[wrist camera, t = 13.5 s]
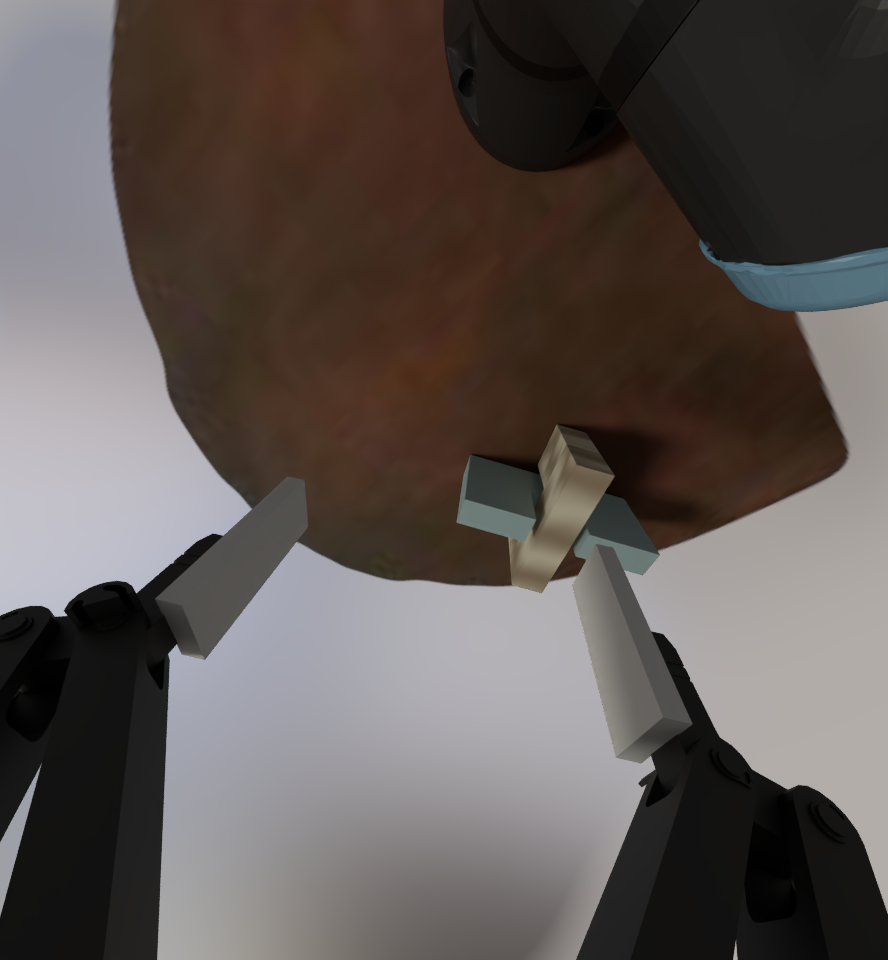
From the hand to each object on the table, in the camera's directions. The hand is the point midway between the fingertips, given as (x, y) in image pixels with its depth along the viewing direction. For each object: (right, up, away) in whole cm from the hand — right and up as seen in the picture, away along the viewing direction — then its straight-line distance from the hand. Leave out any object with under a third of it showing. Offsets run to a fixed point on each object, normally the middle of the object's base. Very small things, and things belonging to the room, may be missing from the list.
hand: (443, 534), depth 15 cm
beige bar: (+13, +2, +26) cm, 29 cm away
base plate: (+13, +2, +26) cm, 29 cm away
